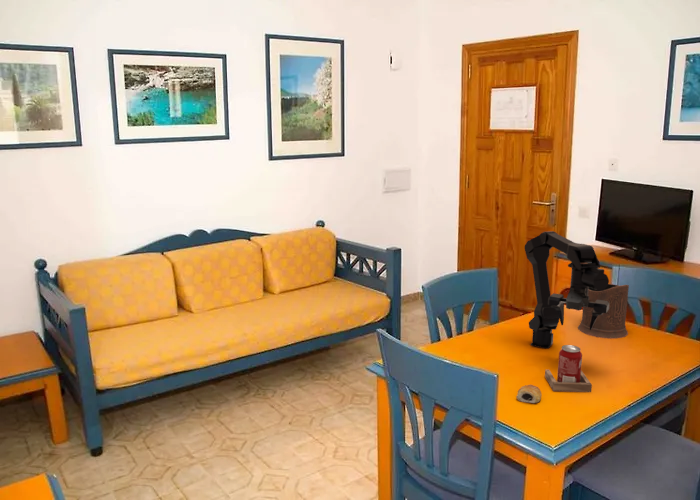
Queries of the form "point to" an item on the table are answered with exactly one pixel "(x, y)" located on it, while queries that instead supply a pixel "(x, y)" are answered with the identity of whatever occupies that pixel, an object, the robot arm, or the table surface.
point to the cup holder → (613, 319)
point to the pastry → (529, 394)
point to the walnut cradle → (569, 384)
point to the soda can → (569, 364)
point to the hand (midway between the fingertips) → (576, 327)
